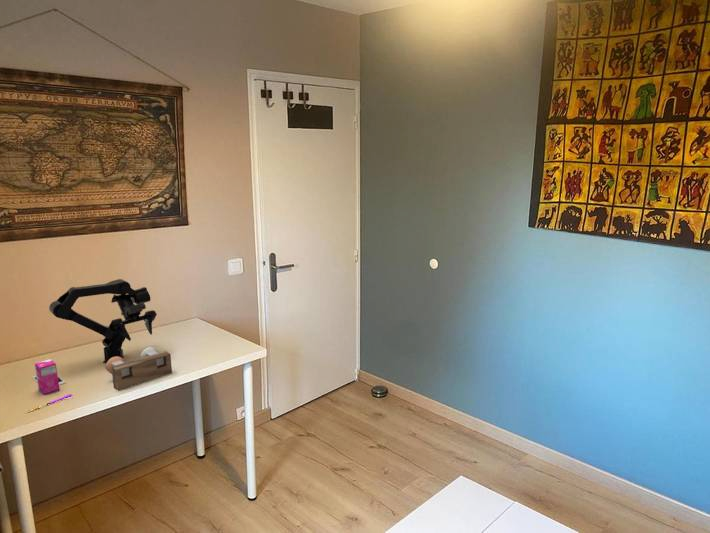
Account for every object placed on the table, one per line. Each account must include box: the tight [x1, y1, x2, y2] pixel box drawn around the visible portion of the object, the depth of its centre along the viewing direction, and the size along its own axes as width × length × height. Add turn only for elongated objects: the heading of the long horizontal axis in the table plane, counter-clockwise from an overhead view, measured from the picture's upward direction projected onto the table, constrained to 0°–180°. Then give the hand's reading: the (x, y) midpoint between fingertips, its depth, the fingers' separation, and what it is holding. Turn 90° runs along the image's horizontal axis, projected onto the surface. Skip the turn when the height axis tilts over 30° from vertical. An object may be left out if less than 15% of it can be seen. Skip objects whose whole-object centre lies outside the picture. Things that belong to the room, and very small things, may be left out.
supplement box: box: [34, 358, 61, 396], centre depth 192 cm, size 6×6×12 cm
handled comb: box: [27, 393, 73, 411], centre depth 182 cm, size 3×1×16 cm
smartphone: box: [32, 375, 66, 386], centre depth 201 cm, size 7×15×1 cm, turn 49°
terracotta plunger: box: [105, 356, 130, 377], centre depth 199 cm, size 9×7×7 cm
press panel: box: [111, 350, 173, 392], centre depth 201 cm, size 4×22×9 cm, turn 137°
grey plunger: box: [140, 346, 164, 366], centre depth 209 cm, size 9×7×7 cm
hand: (141, 337), depth 215 cm, fingers open, 9 cm apart
